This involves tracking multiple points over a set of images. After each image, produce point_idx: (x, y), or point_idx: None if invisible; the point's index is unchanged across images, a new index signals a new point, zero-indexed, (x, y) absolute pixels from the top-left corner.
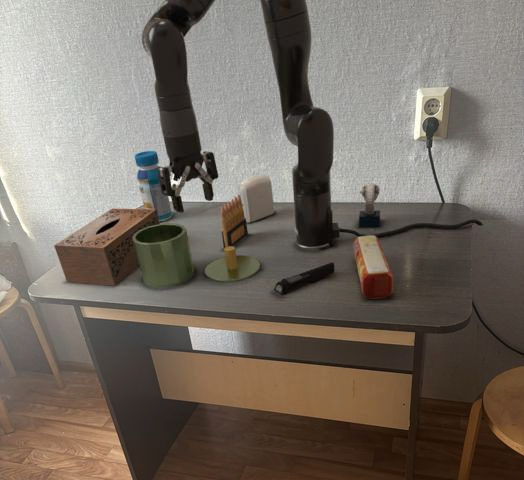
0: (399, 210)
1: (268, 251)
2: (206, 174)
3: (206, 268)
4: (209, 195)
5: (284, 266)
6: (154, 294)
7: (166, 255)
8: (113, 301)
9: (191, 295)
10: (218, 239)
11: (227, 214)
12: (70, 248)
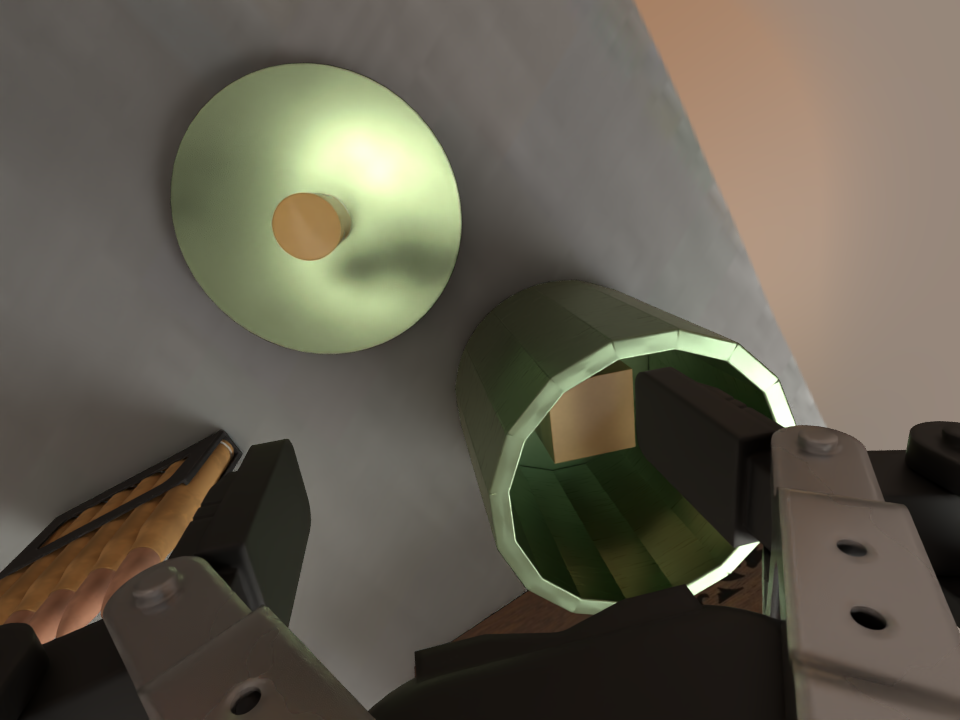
0: None
1: (51, 280)
2: (191, 670)
3: (424, 308)
4: (279, 470)
5: (62, 40)
6: (674, 290)
7: (672, 317)
8: (789, 353)
9: (587, 159)
10: None
11: (107, 568)
12: None
